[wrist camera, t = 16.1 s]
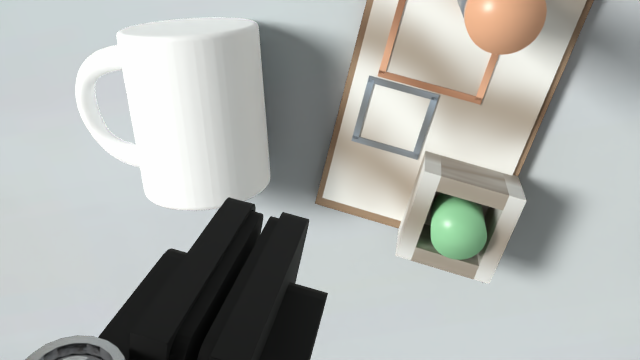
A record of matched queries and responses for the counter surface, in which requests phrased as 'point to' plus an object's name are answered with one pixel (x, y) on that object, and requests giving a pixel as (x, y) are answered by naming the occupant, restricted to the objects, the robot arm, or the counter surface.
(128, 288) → the counter surface
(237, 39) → the mug
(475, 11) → the cylinder
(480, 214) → the button
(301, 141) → the counter surface
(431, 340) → the counter surface
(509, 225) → the cream tray
